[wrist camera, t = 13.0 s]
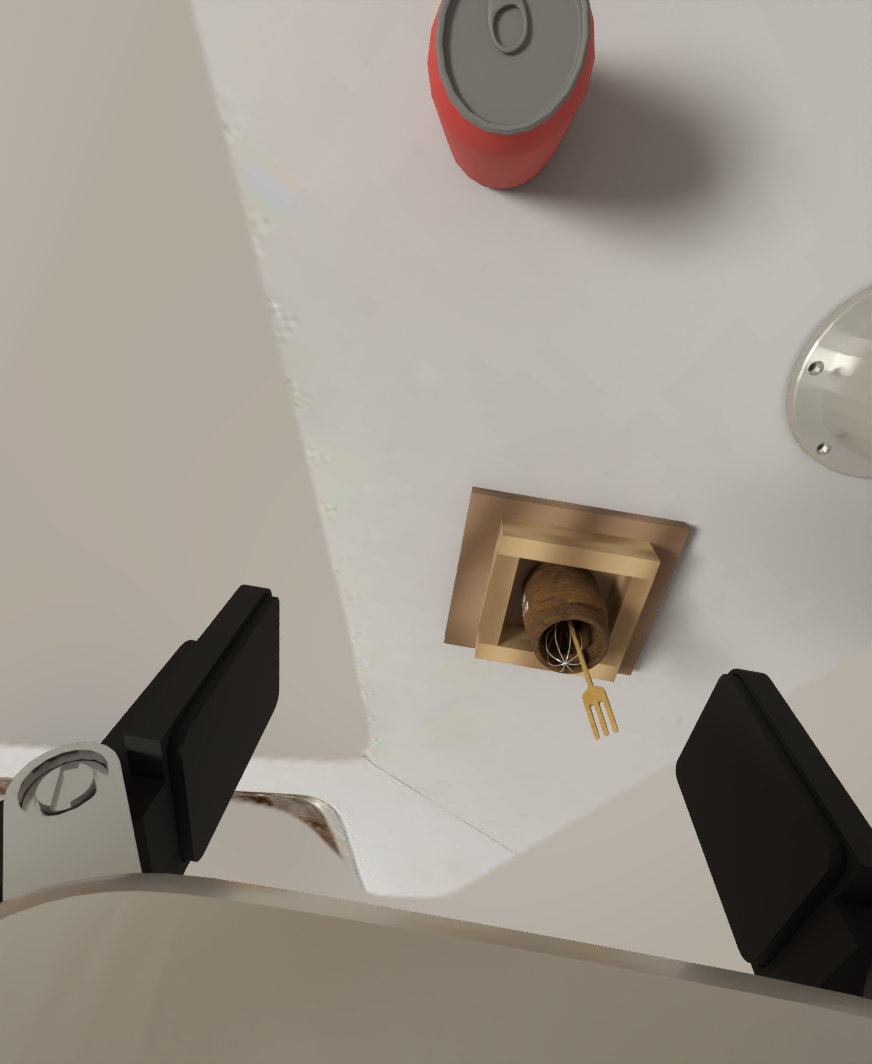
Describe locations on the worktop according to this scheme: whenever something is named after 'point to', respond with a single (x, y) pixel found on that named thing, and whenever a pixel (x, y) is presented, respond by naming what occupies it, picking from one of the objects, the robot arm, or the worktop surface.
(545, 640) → the utensil holder
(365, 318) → the worktop surface
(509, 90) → the beer can
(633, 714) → the worktop surface
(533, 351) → the worktop surface
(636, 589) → the socket board
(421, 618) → the worktop surface
